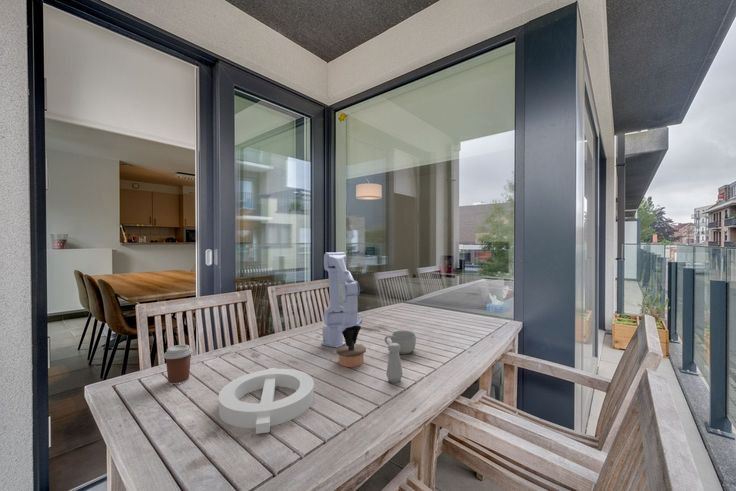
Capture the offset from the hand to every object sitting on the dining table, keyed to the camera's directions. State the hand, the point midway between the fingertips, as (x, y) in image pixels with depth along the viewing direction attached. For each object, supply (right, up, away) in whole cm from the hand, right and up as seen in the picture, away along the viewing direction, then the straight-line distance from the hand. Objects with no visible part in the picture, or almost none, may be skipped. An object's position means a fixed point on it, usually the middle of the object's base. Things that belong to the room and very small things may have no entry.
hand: (350, 344), depth 129 cm
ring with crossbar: (-24, -9, -31) cm, 40 cm away
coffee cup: (-61, -8, -16) cm, 63 cm away
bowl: (0, -7, 0) cm, 7 cm away
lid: (0, -3, 0) cm, 3 cm away
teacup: (+21, -7, +12) cm, 25 cm away
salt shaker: (+16, -8, -17) cm, 25 cm away
